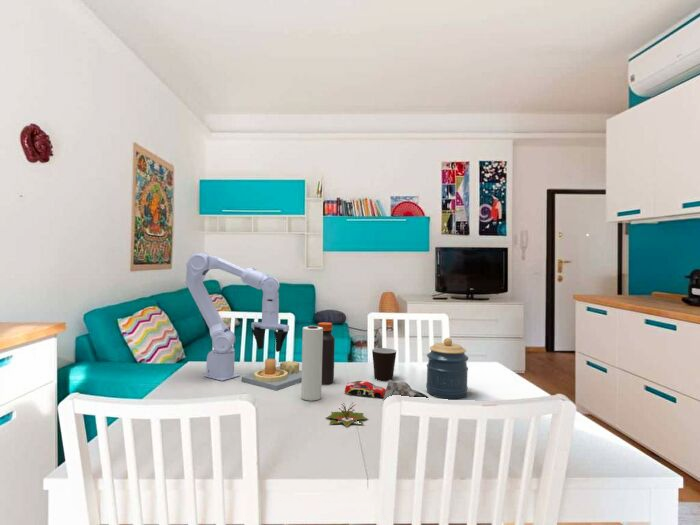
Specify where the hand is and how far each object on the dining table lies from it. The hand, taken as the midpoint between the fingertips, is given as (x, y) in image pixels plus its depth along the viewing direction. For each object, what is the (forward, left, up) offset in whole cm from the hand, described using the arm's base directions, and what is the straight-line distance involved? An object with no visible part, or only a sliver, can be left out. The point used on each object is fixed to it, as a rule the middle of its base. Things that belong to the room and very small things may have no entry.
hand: (269, 350), depth 150 cm
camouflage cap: (+52, +4, -10) cm, 53 cm away
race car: (+37, +5, -10) cm, 39 cm away
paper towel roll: (+26, -8, -10) cm, 29 cm away
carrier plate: (+5, -1, -9) cm, 11 cm away
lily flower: (+44, -16, -10) cm, 48 cm away
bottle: (+19, +7, -10) cm, 22 cm away
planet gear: (+5, -5, -8) cm, 10 cm away
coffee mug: (+33, +25, -10) cm, 43 cm away
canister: (+57, +22, -10) cm, 62 cm away
